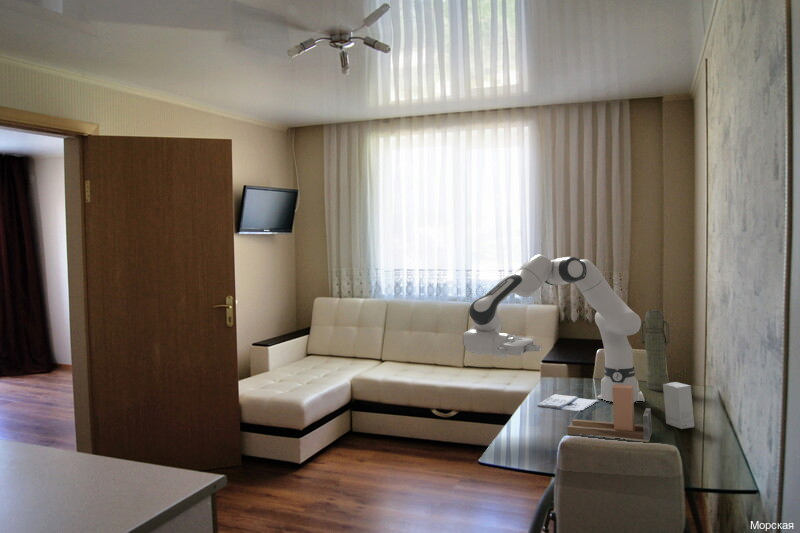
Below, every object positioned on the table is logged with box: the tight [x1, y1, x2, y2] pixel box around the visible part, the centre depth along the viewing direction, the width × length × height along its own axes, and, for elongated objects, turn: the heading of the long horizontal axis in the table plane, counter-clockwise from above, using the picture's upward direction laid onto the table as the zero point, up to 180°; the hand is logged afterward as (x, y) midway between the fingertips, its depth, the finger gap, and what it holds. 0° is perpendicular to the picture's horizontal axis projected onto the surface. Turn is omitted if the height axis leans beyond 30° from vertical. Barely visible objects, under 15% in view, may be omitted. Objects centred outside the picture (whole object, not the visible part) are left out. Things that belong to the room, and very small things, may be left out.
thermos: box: [640, 309, 671, 392], centre depth 266 cm, size 9×12×35 cm
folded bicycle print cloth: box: [536, 393, 600, 412], centre depth 249 cm, size 19×20×2 cm
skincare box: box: [662, 381, 695, 430], centre depth 213 cm, size 8×6×15 cm
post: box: [612, 384, 635, 431], centre depth 205 cm, size 5×6×16 cm
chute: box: [566, 407, 653, 443], centre depth 208 cm, size 10×26×9 cm, turn 62°
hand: (540, 348), depth 218 cm, fingers closed
